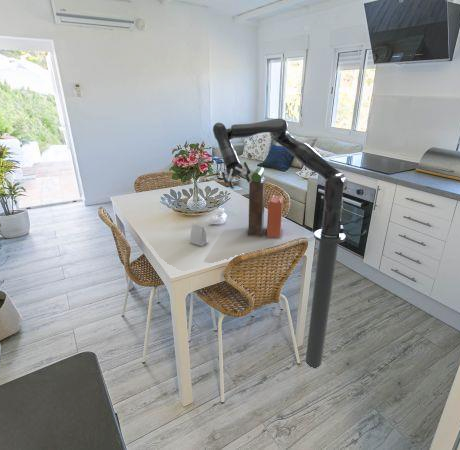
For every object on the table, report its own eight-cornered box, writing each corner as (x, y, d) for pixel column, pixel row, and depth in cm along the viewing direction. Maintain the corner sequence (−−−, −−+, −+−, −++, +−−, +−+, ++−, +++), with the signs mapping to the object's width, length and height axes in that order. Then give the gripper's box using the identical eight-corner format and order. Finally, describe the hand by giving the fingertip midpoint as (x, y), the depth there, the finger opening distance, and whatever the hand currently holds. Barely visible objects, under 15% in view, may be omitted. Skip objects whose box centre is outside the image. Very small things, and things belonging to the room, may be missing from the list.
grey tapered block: (201, 246, 157) (200, 228, 153) (191, 243, 161) (190, 225, 157) (206, 243, 160) (205, 225, 156) (196, 240, 163) (195, 222, 159)
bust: (211, 230, 182) (219, 219, 174) (204, 220, 184) (211, 208, 176) (226, 224, 190) (234, 213, 182) (220, 214, 192) (227, 203, 184)
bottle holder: (280, 230, 179) (283, 195, 171) (279, 238, 168) (282, 201, 160) (268, 229, 180) (270, 194, 172) (266, 237, 169) (268, 200, 161)
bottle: (265, 173, 177) (265, 165, 175) (260, 182, 157) (260, 172, 156) (257, 173, 177) (257, 165, 176) (251, 181, 158) (251, 172, 156)
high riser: (263, 228, 180) (265, 176, 168) (261, 237, 169) (263, 181, 157) (251, 227, 181) (252, 175, 169) (248, 236, 170) (249, 180, 158)
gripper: (243, 155, 167) (254, 182, 164) (219, 166, 169) (229, 192, 165) (241, 149, 160) (252, 177, 156) (215, 160, 161) (226, 188, 158)
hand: (240, 185), depth 161 cm, fingers open, 8 cm apart
